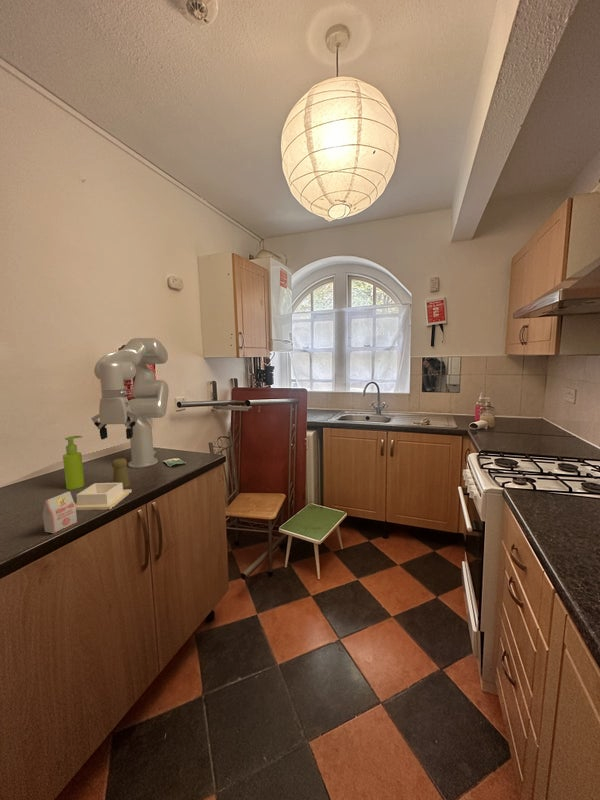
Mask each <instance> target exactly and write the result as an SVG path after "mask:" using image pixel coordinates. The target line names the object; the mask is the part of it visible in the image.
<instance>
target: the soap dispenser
mask: <svg viewBox="0 0 600 800" xmlns="http://www.w3.org/2000/svg"><path fill="white" fill-rule="evenodd" d="M79 438H83V435H82V436H81V435H73V436H67V437H66V438H65V437H64V439H65V441H67V445H66V446H65V451H66V454H64V455H62V461H63V469H64V479H65V488H66V490H77V489H80V488H82V487H84V486H85V476H84V467H83V458H82V452H79V451H78V449H77V448H78V445H77V444H75V443H74V439H79Z"/></svg>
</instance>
